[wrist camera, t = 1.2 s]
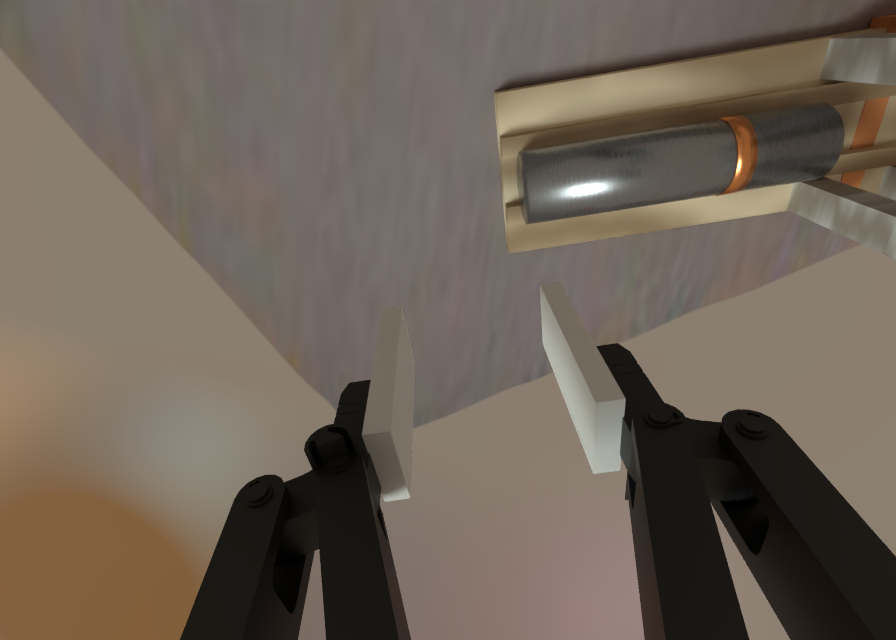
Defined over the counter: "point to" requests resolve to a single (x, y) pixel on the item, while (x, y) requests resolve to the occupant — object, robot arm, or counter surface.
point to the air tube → (679, 162)
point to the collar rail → (715, 96)
